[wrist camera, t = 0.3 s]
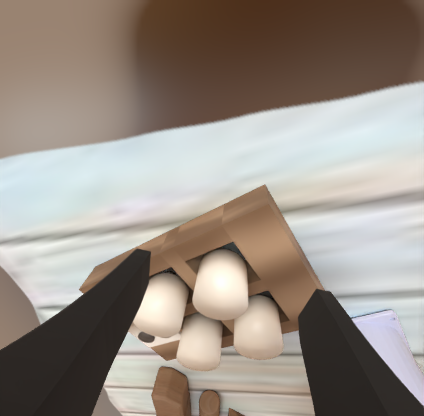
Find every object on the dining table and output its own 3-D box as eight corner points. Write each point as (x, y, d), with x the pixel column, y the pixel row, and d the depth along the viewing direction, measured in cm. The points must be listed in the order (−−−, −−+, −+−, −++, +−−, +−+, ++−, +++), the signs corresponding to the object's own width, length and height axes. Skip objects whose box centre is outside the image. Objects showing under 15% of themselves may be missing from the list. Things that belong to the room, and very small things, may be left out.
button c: (285, 315, 22) (291, 354, 19) (247, 325, 24) (247, 363, 21) (266, 289, 21) (270, 327, 18) (227, 301, 22) (224, 338, 19)
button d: (230, 329, 24) (228, 366, 21) (198, 338, 26) (192, 373, 23) (209, 307, 23) (204, 343, 20) (176, 317, 24) (167, 352, 21)
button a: (255, 275, 20) (258, 312, 17) (215, 288, 21) (211, 325, 18) (231, 242, 18) (230, 276, 15) (190, 259, 20) (181, 293, 17)
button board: (326, 293, 24) (338, 326, 21) (172, 336, 31) (165, 365, 28) (265, 184, 18) (269, 207, 15) (95, 267, 25) (75, 293, 22)
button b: (197, 294, 22) (190, 330, 19) (164, 305, 23) (153, 341, 20) (171, 267, 20) (159, 301, 17) (138, 280, 22) (122, 314, 19)
